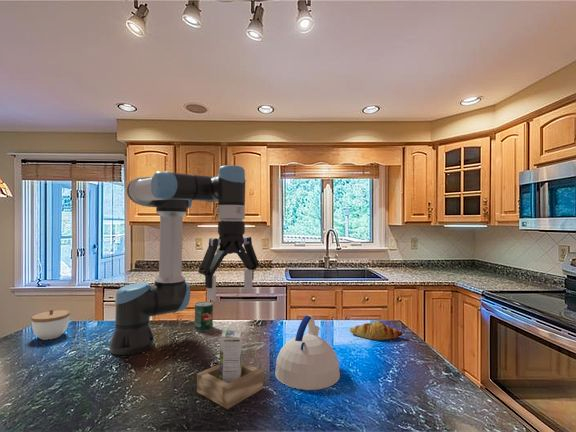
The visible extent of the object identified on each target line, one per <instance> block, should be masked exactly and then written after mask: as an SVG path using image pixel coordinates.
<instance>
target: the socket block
mask: <svg viewBox="0 0 576 432" xmlns="http://www.w3.org/2000/svg"><path fill="white" fill-rule="evenodd" d="M219 367H220V363H219V364H217V365H214V366H211V367H210V368H207V369H204V370H203V371H199V372H198V373H197V374H196V393H198V394H199V395H201V396H203V397H205V398H207V399H208V400H210V401H211V402H214V403H216V404H217V405H219V406H220V407H222V408H224V409H227V410H229V409H230V408H232V407H234V406H236V405H238V404H239V403H241V402H242V401H244V400H246V399H247V398H249V397H251V396H253V395H254V394H256V393H258V392H259V391H261V390H264V370H263V369H260V368H258V367H255V366H252V365H250V364H248V363H246V362H243V361H242V364H241V378H239V379H237V380H235V381H233V382H231V383H229V384H228V383H226V382H224V381H222V380H220V379H219Z"/></svg>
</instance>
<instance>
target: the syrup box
mask: <svg viewBox="0 0 576 432" xmlns="http://www.w3.org/2000/svg"><path fill="white" fill-rule="evenodd" d="M219 341H220V342H219V364H220V367H219V379H220V380H222V381H224V382H226V383H228V384H229V383H231V382H233V381H235V380H237V379H239V378H241V364H242V362H243V361H242V357H243V352H242V351H243V330H234V329H233V330H223V331H222V334H221V336H220V339H219Z"/></svg>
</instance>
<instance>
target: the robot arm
mask: <svg viewBox="0 0 576 432" xmlns="http://www.w3.org/2000/svg"><path fill="white" fill-rule="evenodd" d="M246 182H247V180H246V170H245V168H244V167H243V166H241V165H231V164H229V165H228V164H227V165H221V166H220V167H219V168H218V173H217V175H216V176H210V175H209V176H207V175H199V174H188V173H179V172H171V171H156V172H154V174H153V175H152V176H140V177H135V178H133V179H132V180H131V181H129V183H128V185H127V186H126V194H127V197H128V198H129V200H131V202H133V203H135V204H137V205H139V206H142V207H147V208H148V207H149V208H155V210H156V211H155V212H156V213H157V214H158V216H160V217H159V219H160V220H159V255H158V256H159V260H158V261H159V264H158V276H157V277H156V278H155V279H154V284H153V285H151V284H150V282H148V281H147V282H145V281H143V282H136V283H130V284H126V285H124V286H121V287H120V288H118V289H117V290H116V293H115V302H114V304H115V319H114V320H115V325H114V326H115V328H114V331H113V334H112V337H111V340H110V343H109V353H111V354H113V355H117V356H128V355H135V354H136V355H137V354H140V353H143V352H146V351H148V350H150V349H152V348H154V345H155V337H154V334H153V331H152V327H151V323H150V320H151V319H150V318H151V317H155V316H161V315H166V314H175V313H177V312H180V311H181V312H182V311H184V310H185V309H186V308H187V307H188V306H189V303H190V300H191V289H190V288H191V286H190V284H189V282H187V281H186V278H185V277H184V276H183V274H182V272H183V271H182V267H183V263H182V262H183V261H182V260H183V259H182V258H183V217H184V216H185V215H186V214H187V213H188V212H187V211H188V209H189V208H191V207H192V205H193V201H198V202H199V201H200V202H206V203H207V202H208V203H216V202H218V203H217V204H218V205H217V219H218V220H219V221H218V222H217V234H218V235H219V236H218V237H219V238H213V237H211V238H209V239H208V247H207V249H206V251H205V253H204V257H203V259H202V260H201V261H202V262H201V264H200V266H199V269H198V274H201V275H203V276H204V278H205V280H204V282H205V283H204V286H205V289H206V300H207V301H210V302H216V301H217V299H216V298H217V294H216V293H217V292H216V290H217V276H216V275H214V274H215V273H216V271H217V269H218V268H219V267H220V265H221V263H222V262H223V260H224V258H225V257H226V256H228V255H230V254H237V256H238V257H239V259H240V260H241V262H242V263H243V265H244V266H245V267H246V269H244V271H243V272H244V275H243V276H244V277H243V278H244V280H243V281H244V282H243V284H244V285H243V288H244V289H243V291H244V292H248V293H252V292H253V280H254V279H255V278H254V273H255V272H254V271H256V270H257V268H258V267H259V266H260V263H259V260H258V258H257V254H256V252H255V249H254V246H253V242H252V237H251V236H244V234H245V231H246V229H245V228H246V222H245V221H244V220H245V219H246V217H245V216H246V214H245V213H246V206H245V205H246V204H245V203H246Z"/></svg>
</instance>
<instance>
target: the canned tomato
mask: <svg viewBox="0 0 576 432" xmlns="http://www.w3.org/2000/svg"><path fill="white" fill-rule="evenodd" d="M213 310H214V303H213V301H199V302H196V303H194V330H195V331H196V332H208V331H212V329H213V328H214V327H213V326H214V325H213V324H214V323H213V322H214V321H213V319H214V316H213V315H214V311H213Z"/></svg>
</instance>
